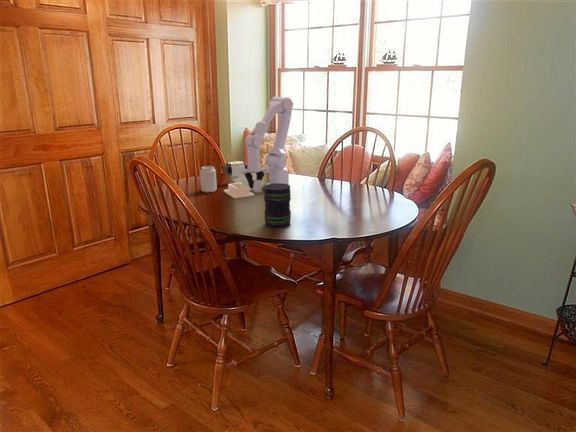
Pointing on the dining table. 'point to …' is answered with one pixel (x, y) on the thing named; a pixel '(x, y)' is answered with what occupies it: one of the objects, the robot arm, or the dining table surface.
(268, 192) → the storage jar
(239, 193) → the hollow block
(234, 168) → the pneumatic valve
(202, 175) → the can
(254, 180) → the grey block
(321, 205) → the dining table surface
